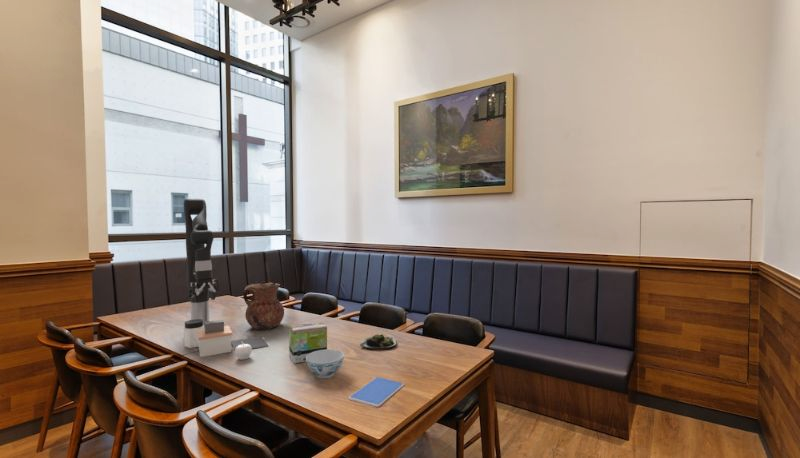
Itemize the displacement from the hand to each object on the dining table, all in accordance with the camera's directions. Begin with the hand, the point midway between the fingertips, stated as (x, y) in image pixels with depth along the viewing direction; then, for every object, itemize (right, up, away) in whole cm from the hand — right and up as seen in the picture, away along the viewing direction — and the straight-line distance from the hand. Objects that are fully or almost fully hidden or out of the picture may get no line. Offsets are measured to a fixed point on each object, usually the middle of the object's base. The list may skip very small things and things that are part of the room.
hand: (205, 301), depth 189 cm
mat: (+24, -21, -3) cm, 32 cm away
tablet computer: (+91, -23, -55) cm, 109 cm away
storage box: (+10, -21, -11) cm, 26 cm away
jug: (+21, -21, +28) cm, 40 cm away
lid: (+10, -15, -11) cm, 21 cm away
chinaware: (+70, -22, -40) cm, 83 cm away
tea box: (+58, -22, -22) cm, 66 cm away
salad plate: (+89, -21, -5) cm, 92 cm away
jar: (-4, -22, -3) cm, 22 cm away
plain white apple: (+29, -22, -22) cm, 42 cm away
